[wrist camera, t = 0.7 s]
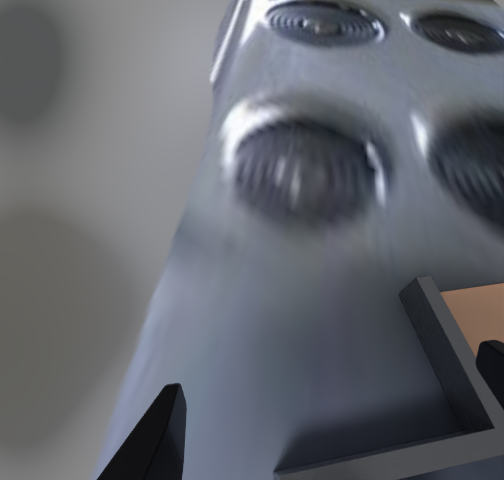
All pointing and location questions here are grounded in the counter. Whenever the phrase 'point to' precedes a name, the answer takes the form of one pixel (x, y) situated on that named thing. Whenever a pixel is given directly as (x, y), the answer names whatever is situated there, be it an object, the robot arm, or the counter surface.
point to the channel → (457, 392)
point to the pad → (478, 313)
